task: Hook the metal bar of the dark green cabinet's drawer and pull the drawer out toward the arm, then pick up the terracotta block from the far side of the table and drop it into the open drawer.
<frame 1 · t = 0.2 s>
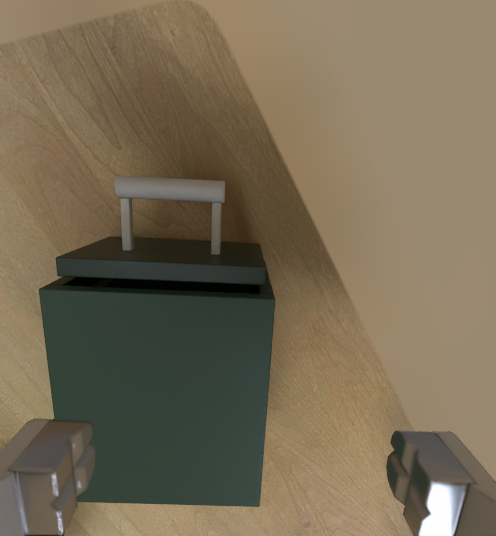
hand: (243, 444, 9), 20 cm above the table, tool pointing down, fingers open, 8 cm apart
cabinet: (186, 338, 30), on the table
drawer: (175, 311, 24), point 5 cm above the table, slide at 0.5 cm
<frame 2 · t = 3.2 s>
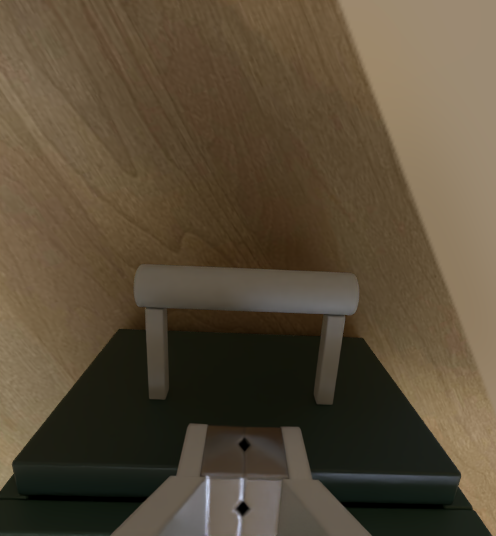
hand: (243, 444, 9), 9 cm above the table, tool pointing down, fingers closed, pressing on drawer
cabinet: (235, 456, 20), on the table
drawer: (236, 475, 14), point 5 cm above the table, slide at 0.0 cm, touching cabinet, gripper
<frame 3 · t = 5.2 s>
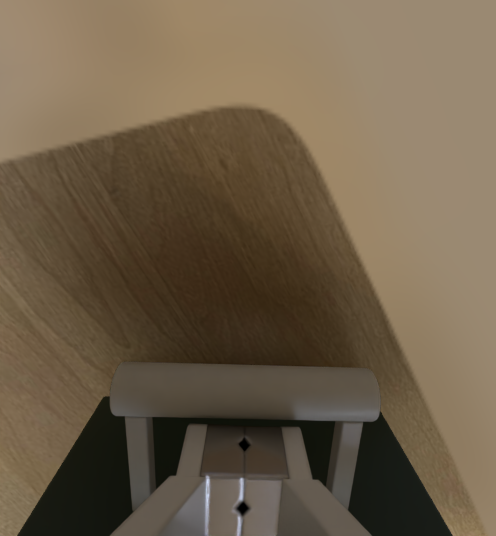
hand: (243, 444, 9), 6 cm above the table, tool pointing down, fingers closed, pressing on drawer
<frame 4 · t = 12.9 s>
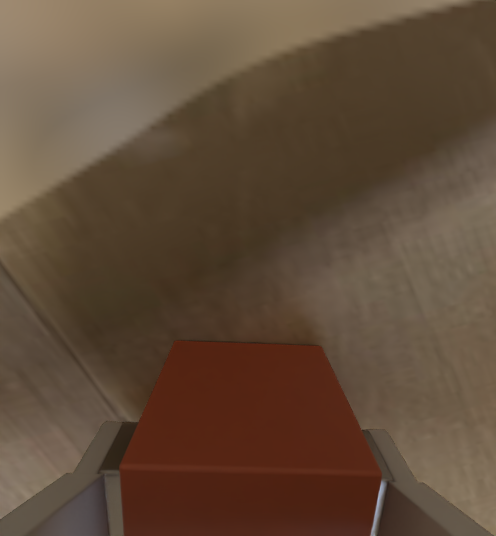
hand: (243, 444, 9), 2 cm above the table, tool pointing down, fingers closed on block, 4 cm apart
block: (245, 405, 10), on the table, touching gripper
when the fingers open (11 cm above the table, at t = 21.6 s): block drops 7 cm, resting on drawer.
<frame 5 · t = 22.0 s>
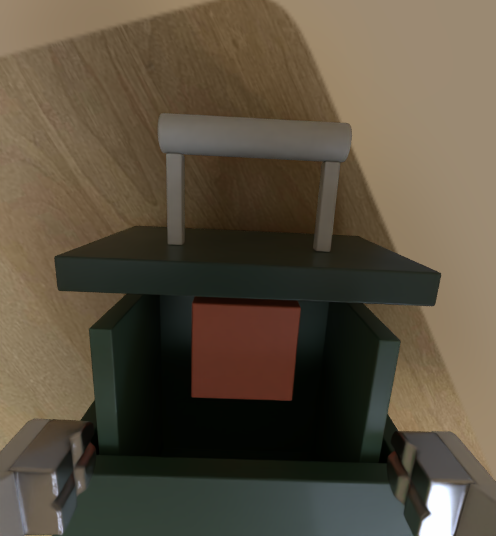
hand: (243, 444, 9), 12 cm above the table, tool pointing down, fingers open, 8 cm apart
cabinet: (237, 445, 23), on the table
block: (244, 313, 18), point 2 cm above the table, touching drawer
drawer: (243, 342, 15), point 5 cm above the table, slide at 6.4 cm, touching block
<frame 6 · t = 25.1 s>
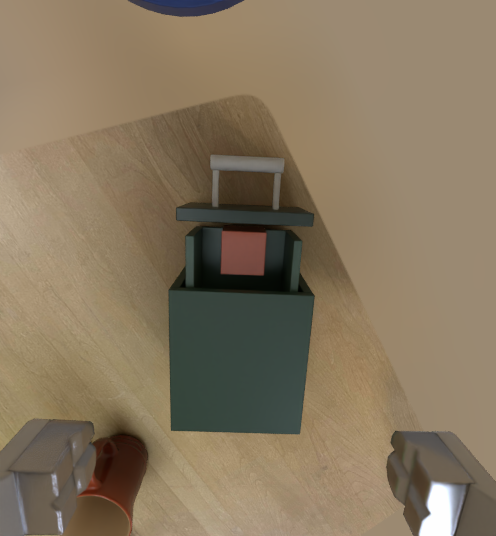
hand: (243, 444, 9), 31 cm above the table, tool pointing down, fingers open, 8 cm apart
cabinet: (239, 325, 42), on the table
block: (243, 245, 37), point 2 cm above the table, touching drawer
drawer: (243, 253, 34), point 5 cm above the table, slide at 6.4 cm, touching block
mug: (123, 441, 46), on the table
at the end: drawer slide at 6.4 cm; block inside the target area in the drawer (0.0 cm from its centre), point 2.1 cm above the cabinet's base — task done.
